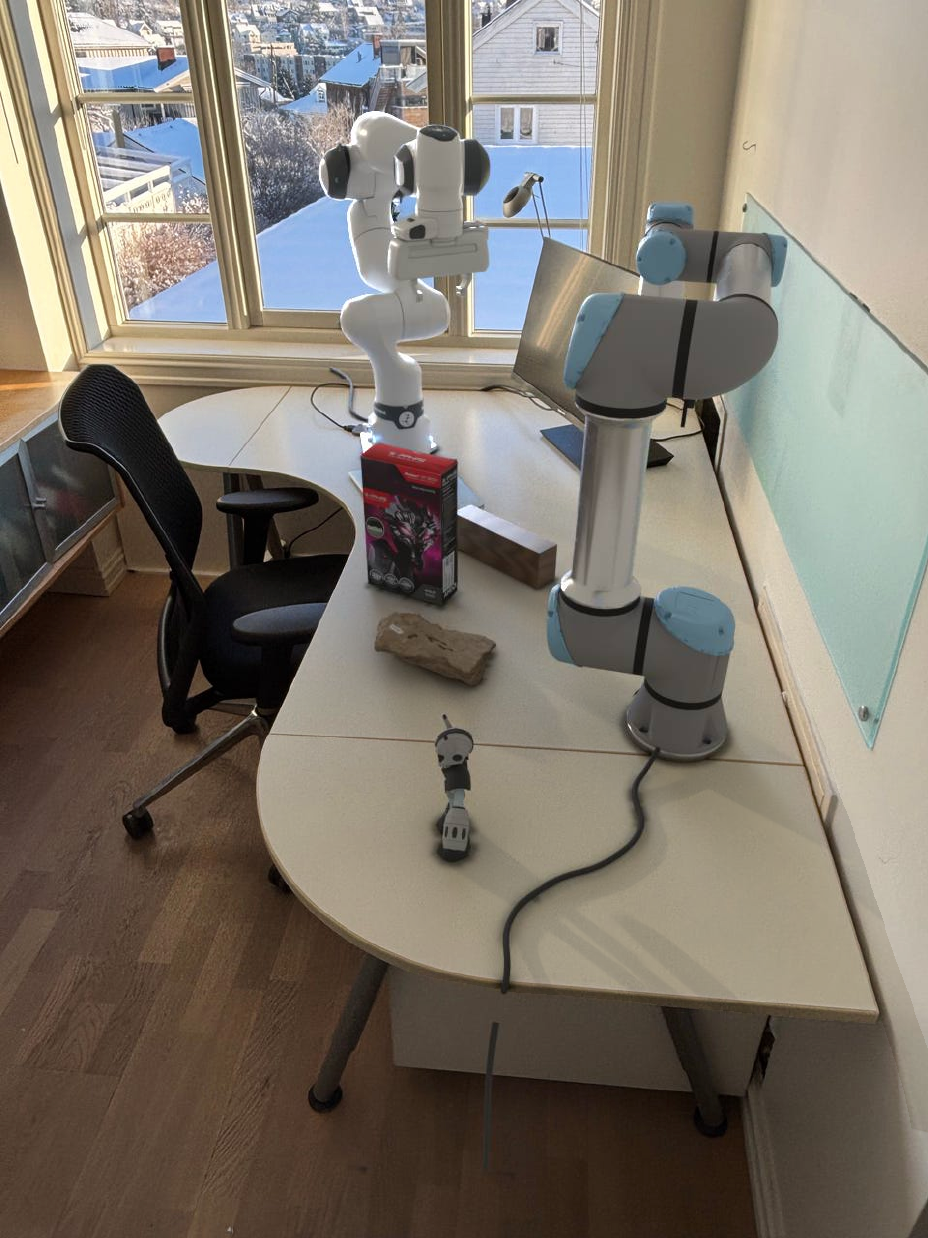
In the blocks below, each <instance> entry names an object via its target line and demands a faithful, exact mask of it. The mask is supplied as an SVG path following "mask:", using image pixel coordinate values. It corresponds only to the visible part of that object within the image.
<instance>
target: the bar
mask: <svg viewBox="0 0 928 1238" xmlns="http://www.w3.org/2000/svg"><path fill="white" fill-rule="evenodd" d="M457 531H458V532H457V535H458V537H457V540H458V550H460V551H462V552H463V553H466V554H468V555H470V556H472V557H473V558H475V559H478V560H480V561H481V562H483V563H485V564H487V565H489V566H492V567H494V568H495V569H497V570H499V571H500V572H503V573H505V574H507V575H509V576H511V577H513V578H515V579H517V580H519V581H521V582H522V583H524V584H527V585H529V586H531V587H533V588H534V589H537V590H538V589H539V588H541V587H543V586H545V585H548V583H551V582H552V581H554V580H555V579H556V567H557V566H556V565H557V551H558V544H557V543H555V542H554V541H551V540H549V539H547V538H545V537H543V536H540V535H538V534H536V533H534V532H532V531H529V530H527V529H525V528H523V527H520V526H519V525H517V524H514V523H512V522H510V521H508V520H506V519H504V518H501V517H499V516H497V515H495V514H493V513H490V512H488V511H486V510H484V509H482V508H480V507H477V506H475V505H474V504H468V505H465V506H464V507H461V508H458V509H457Z"/></svg>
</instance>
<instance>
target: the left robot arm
mask: <svg viewBox="0 0 928 1238" xmlns="http://www.w3.org/2000/svg"><path fill="white" fill-rule="evenodd" d="M350 136H351V137H350V138H351V139H350V140H351V141H350V143H348V144H342V142H340V141H339V142H338V143H336V145H335V147H333V148H330V149H328V150H327V151H325V153H324V154H323V155H322V157H321V158H320V163H319V168H318V169H319V170H318V175H319V182H320V184H321V187H322V190H323V192H324V194H325V195H326V197H328V198H329V199H331V200H335V201H342V202H344V201H345V200H349V201H353V202H352V203H350V205H349V207H348V209H347V210H348V211H347V224H348V226H347V227H348V233H349V234H348V235H349V240H350V244H351V248H352V253H353V255H354V259H355V262H356V267H357V270H358V273H359V276H360V278H361V280H362V281H363V282H364V284H365V285H367V286H368V287H370V288H372V289H374V290H377V291H379V292H380V293H371V294H370V293H369V294H364V295H360V296H357V297H355V298H352V299H351V298H350V299H349V300H347V301H346V302H345V303H344V304H343V307H342V309H341V313H340V327H341V330H342V332H343V335H345V337H346V338H347V340H348V341H350V343H352V344H354V345H355V346H356V347H358V348H359V349H360V350H361V351H362V352H363V353H364V354H365V355H366V357H367V358H368V361H369V362H370V363H371V364H370V365H371V367H372V372H373V377H374V387H375V398H374V401H373V412H372V413H371V414H370V415H369V416H368V417H364V416H362V415H360V414H358V413H357V412H356V411H355V410H354V409H353V397H354V385H353V382H352V380H351V378H350V377H349V376H348V375H347V374H346V373H344V372H342V371H340V370H339V369H336V368H335V367H332V366H329V367H328V369H329V370H330V371H332V372H334V373H336V374H338V375H340V376H342V377H343V378H344V379H345V380H346V381H347V382H348V385H349V397H348V410H349V412H350V414H351V415H352V416H354V417H355V418H357V419H358V420H360V421H363V422H366V423H363V424H362V432H360V434H359V440H360V444H361V449H362V454H363V453H364V452H365V451H366V450H367V449H368V448H370V447H371V446H373V445H374V444H376V443H378V442H379V443H384V444H388V445H392V446H397V447H401V448H405V449H410V450H414V451H418V452H422V453H427V454H431V453H432V452H434V451H436V450H437V449H438V446H437V443H435V442H434V441H433V440H434V438H433V436H432V434H431V433H432V432H431V423H430V422H431V421H430V418H429V417H428V416H427V415H426V414H424V413H425V401H424V400H425V399H424V397H423V392H422V391H423V387H422V386H423V385H422V369H421V366H420V364H419V362H417V360H415V359H414V358H412V357H411V356H409V355H406V354H404V353H401V352H399V351H398V344H399V343H403V342H411V341H420V340H427V339H431V338H433V337H437V336H440V335H443V334H444V333H445V332H446V330H447V329H448V327H449V325H450V321H451V315H452V314H451V313H452V312H451V307H450V304H449V301H448V299H447V298H446V296H445V295H444V294H443V293H442V292H441V291H440V290H439V291H438V290H437V289H434V288H433V287H430V286H429V285H428V284H426V283H424V281H422V280H421V279H423V280H424V279H429V278H430V279H431V278H432V279H433V278H440V277H450V276H459V275H460V277H461V278H462V280H461V282H460V285H459V286H456V287H455V291H456V292H455V294H456V297H458V298H467V293H468V292H467V291H468V290H467V289H468V287H469V286H470V284H471V282H472V280H473V274H476V273H485V272H486V271H487V270H488V269H489V267H490V250H489V244H488V241H489V235H490V233H489V232H490V231H489V227H488V225H487V224H486V223H484V222H483V221H482V220H475V221H464V210H463V209H464V204H463V200H462V196H464V197H476V196H477V195H479V194H480V193H481V191H482V190H483V189H484V188H485V187H486V185H487V184H488V182H489V180H490V176H491V159H490V156H489V153H488V151H487V149H486V147H484V146H483V144H482V143H481V142H480V141H479V140H478V139H477V138H475V137H471V138H463V139H461V137H460V134H459V132H458V131H457V130H456V129H454V128H453V127H451V126H447V125H443V124H428V125H425V126H422V127H420V128H419V127H417V126H414V125H412V124H409V123H407V122H405V121H404V120H401V119H399V118H397V117H395V116H393V115H391V114H389V113H385V112H382V111H369V112H365V113H363V114H362V115H360V116H359V117H358V118H357V119H356V120H355V122H354V123H353V126H352V129H351V135H350ZM406 197H410V198H415V199H416V202H415V211H414V212H413V213H411V214H409V215H407V216H405V217H403V218H401V219H397V220H396V221H394V220H393V216H392V212H391V208H392V207H391V206H392V202H393V203H394V205H396V206H400V205H402V203H403V199H404V198H406Z"/></svg>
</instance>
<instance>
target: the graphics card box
mask: <svg viewBox="0 0 928 1238" xmlns="http://www.w3.org/2000/svg"><path fill="white" fill-rule="evenodd" d="M359 458H360V470H361V486H362V487H361V488H362V504H363V518H364V534H365V535H364V537H365V551H366V572H367V584H369V585H371V586H374V587H378V588H382V589H384V590H387V591H390V592H391V591H392V592H395V593H397V594H402V595H406V596H408V597H412V598H415V599H418V600H422V601H426V602H429V603H433V604H435V605H439V606H443V605H444V604H446V602H448V601H449V600H450V599H451V598H452V597H453V596H454V595H455V594H456V593H457V592H458V589H459V584H458V583H459V576H458V575H459V574H458V573H459V555H458V554H459V553H458V552H459V551H458V550H459V549H458V540H457V537H458V535H457V532H458V531H457V510H458V506H459V505H458V503H459V502H458V494H459V493H458V490H459V489H458V484H459V483H458V482H459V481H458V480H459V479H458V477H459V475H458V473H459V468H458V467H459V461H458V458H448V457H444V456H440V455H435V454H431V453H430V454H427V453H422V452H418V451H414V450H410V449H405V448H401V447H397V446H392V445H388V444H384V443H379V442H378V443H376V444H374V445H373V446H371V447H370V448H368V449H367V450H366V451H365V452H364V453H363V452H362V454H361V455H360V457H359Z"/></svg>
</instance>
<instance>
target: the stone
mask: <svg viewBox="0 0 928 1238" xmlns="http://www.w3.org/2000/svg"><path fill="white" fill-rule="evenodd" d="M496 647H497V642H496V641H494V640H493V639H491V638H489V637H487V636H486V635H482V634H477V633H470V632H465V631H464V632H462V631H459V630H457V629H447V628H442V627H441V626H440V624H438V623H432V622H431V621H430V620H429V619H427V618H425V617H423V616H422V614H419V613H412V612H398V611H395V612H392V613H389V614H387V615H386V616H384V617H383V618H380V620H379V621H378V623H377V627H376V636H375V641H374V647H373V649H374V651H375V652H377V653H380V652H381V653H382V652H383V653H389V654H391V655H392V656H393V657H394V659H395V660H397V661H402V662H407V664H410V665H414V666H420V667H421V668H423V669H427V670H430V671H432V672H433V673H437V674H439V675H441V676H443V677H445V678H449V679H458V680H460V681H462V682H463V683H465V684H467V685H470V686H476V685H478V684H479V683H480V682H481V680H482V678H483V676H484V673H485V667H486V665H487V663H488V661H489V659H490V656H491V655H492V654H493V652H494V649H495V648H496Z"/></svg>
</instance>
